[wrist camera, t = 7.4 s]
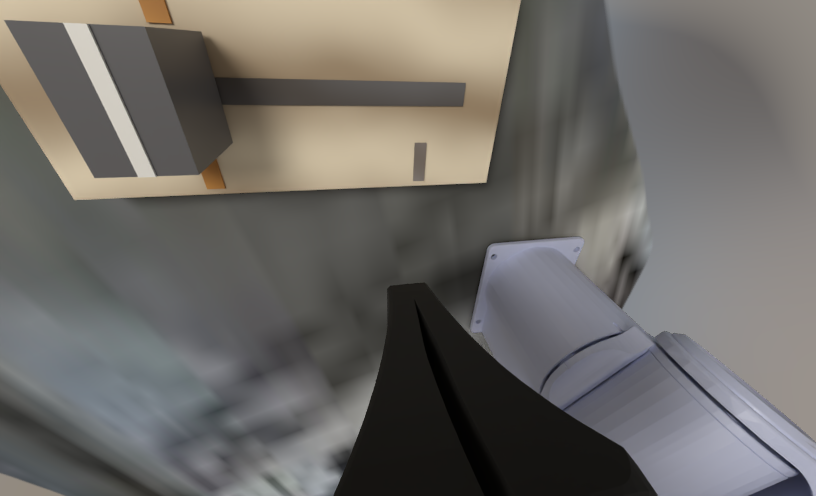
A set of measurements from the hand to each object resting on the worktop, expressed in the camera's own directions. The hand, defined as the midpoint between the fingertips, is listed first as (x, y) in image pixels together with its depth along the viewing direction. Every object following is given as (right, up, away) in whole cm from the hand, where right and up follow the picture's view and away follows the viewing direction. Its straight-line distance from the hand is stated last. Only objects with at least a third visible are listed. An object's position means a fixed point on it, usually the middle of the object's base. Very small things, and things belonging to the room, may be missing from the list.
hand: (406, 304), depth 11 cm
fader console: (-5, +10, +4) cm, 12 cm away
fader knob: (-9, +8, +1) cm, 12 cm away
